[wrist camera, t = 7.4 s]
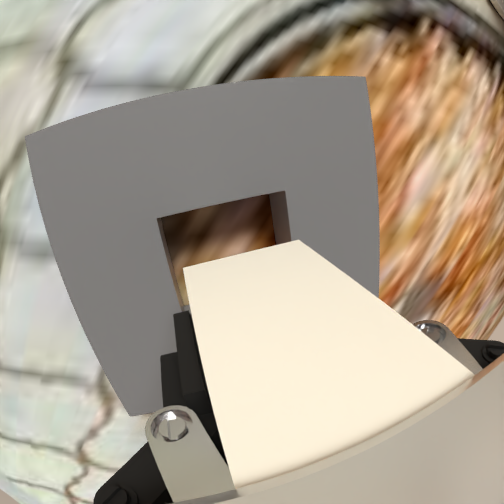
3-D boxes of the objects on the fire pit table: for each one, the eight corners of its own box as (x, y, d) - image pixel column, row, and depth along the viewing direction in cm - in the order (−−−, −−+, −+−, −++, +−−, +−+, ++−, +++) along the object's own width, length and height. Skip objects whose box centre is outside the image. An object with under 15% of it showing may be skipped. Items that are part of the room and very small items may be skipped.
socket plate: (339, 83, 18) (365, 76, 15) (355, 325, 24) (375, 345, 21) (45, 137, 14) (24, 136, 11) (131, 387, 21) (130, 416, 18)
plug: (298, 239, 12) (539, 430, 3) (307, 333, 14) (455, 522, 4) (182, 268, 11) (274, 597, 2) (209, 362, 13) (293, 604, 3)
